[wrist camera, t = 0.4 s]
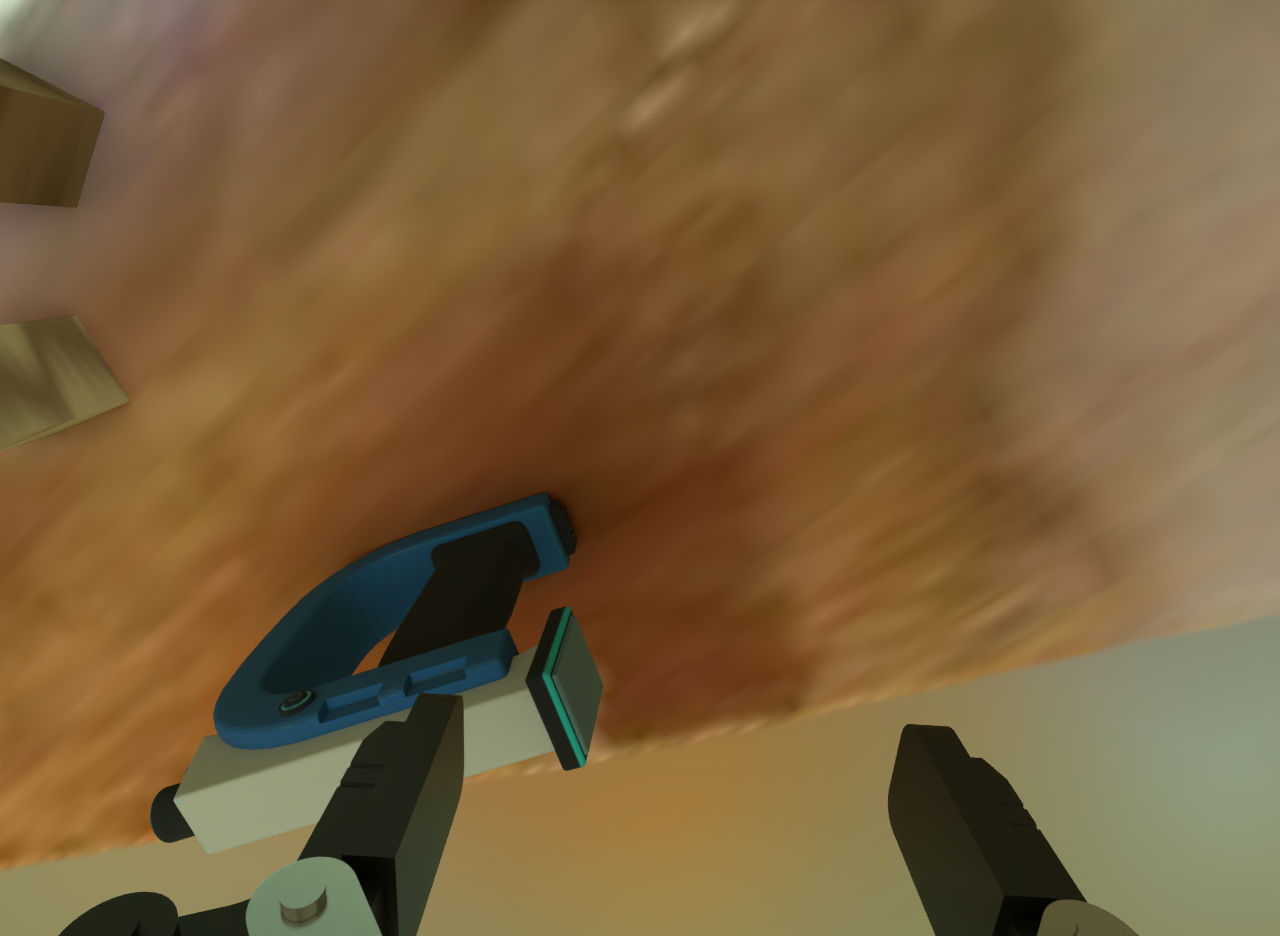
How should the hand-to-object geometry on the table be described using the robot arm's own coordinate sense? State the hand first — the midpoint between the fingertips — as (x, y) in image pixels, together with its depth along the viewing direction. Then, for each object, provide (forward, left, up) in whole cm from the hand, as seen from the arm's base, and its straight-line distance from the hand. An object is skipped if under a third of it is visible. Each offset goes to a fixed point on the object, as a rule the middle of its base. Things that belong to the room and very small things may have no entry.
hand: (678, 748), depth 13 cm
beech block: (-3, -31, -29) cm, 43 cm away
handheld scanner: (+8, -10, -29) cm, 32 cm away
